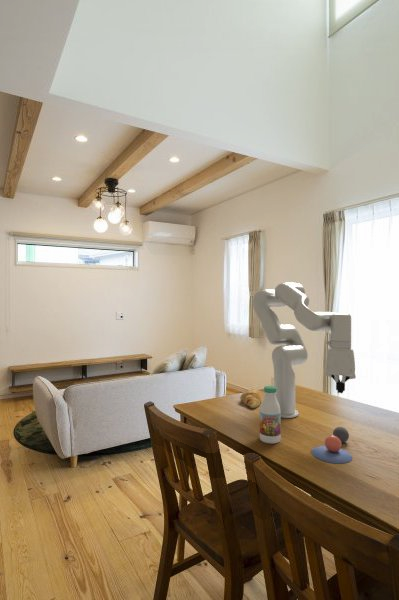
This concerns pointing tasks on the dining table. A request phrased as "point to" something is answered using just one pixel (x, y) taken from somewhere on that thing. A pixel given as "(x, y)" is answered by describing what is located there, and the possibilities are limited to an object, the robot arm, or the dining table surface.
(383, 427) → the dining table surface
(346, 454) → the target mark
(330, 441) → the red ball
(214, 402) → the dining table surface
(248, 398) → the croissant
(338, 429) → the dark grey ball
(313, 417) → the dining table surface
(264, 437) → the milk bottle
